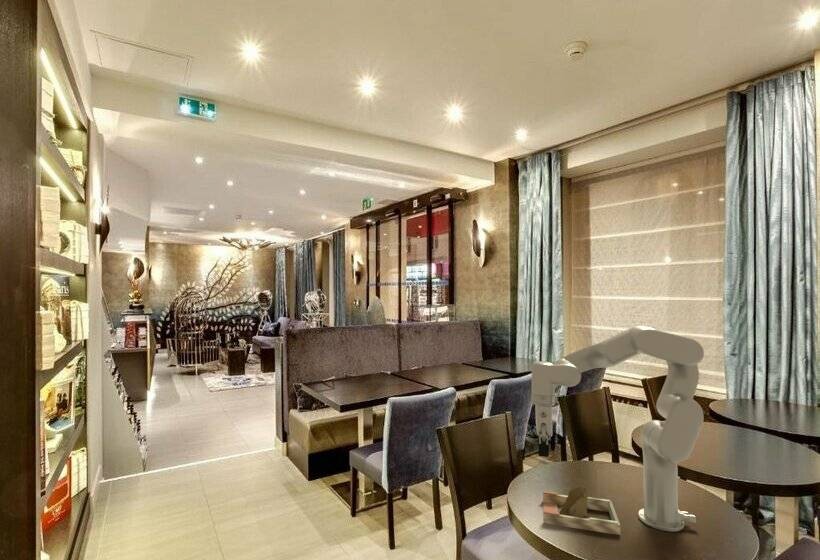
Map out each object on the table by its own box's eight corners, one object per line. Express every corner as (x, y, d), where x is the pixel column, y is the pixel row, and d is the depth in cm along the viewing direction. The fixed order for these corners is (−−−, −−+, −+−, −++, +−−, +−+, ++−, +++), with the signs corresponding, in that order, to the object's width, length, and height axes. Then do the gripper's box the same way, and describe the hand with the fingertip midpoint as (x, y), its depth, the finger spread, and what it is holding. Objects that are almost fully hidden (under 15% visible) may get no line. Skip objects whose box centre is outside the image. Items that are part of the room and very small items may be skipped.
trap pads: (556, 503, 147) (556, 492, 147) (559, 525, 133) (559, 514, 133) (543, 501, 148) (543, 491, 148) (544, 523, 134) (544, 512, 134)
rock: (561, 517, 133) (594, 515, 132) (554, 488, 138) (586, 486, 137) (557, 523, 141) (587, 522, 140) (551, 495, 146) (580, 494, 145)
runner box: (611, 510, 142) (611, 500, 142) (620, 535, 128) (620, 523, 128) (543, 501, 148) (543, 491, 148) (544, 523, 134) (544, 512, 134)
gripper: (556, 406, 133) (556, 462, 132) (553, 394, 150) (554, 443, 149) (531, 404, 135) (531, 459, 135) (531, 392, 152) (531, 441, 151)
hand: (543, 451), depth 142 cm, fingers open, 8 cm apart
